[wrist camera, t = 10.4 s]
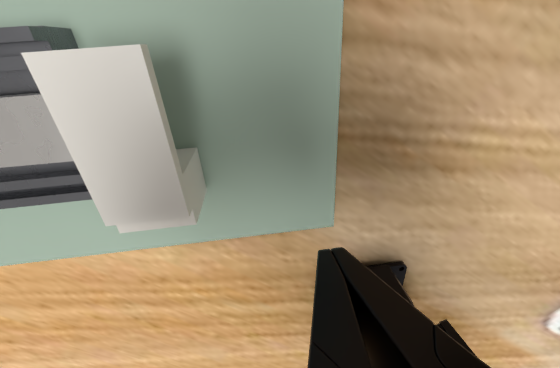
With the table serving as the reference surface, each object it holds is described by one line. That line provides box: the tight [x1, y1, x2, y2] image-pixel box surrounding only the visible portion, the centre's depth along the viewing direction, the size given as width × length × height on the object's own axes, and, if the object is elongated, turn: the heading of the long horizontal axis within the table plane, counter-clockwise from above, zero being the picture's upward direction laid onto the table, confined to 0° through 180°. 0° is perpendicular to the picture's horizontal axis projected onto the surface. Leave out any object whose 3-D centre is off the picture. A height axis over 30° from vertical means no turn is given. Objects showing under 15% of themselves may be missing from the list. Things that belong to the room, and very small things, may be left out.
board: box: [0, 0, 344, 266], centre depth 15 cm, size 20×25×1 cm
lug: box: [21, 44, 207, 233], centre depth 13 cm, size 8×4×4 cm, turn 4°
